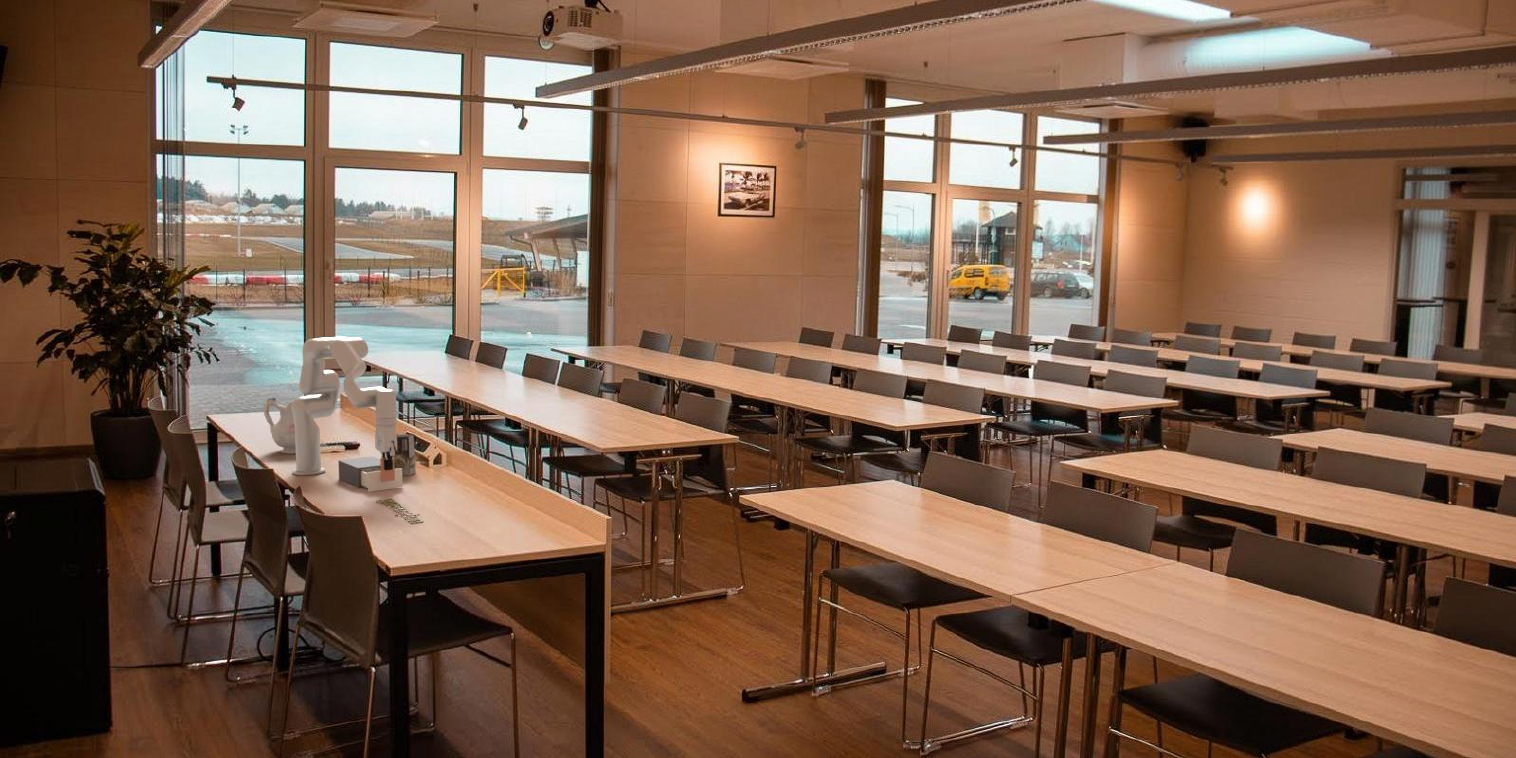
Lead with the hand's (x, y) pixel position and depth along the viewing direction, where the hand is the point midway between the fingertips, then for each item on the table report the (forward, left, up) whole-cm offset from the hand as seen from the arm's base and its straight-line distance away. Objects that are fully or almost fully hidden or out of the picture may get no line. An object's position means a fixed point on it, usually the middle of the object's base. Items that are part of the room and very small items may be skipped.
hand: (387, 469), depth 459 cm
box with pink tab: (-10, 0, -8) cm, 13 cm away
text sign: (+33, -10, -9) cm, 36 cm away
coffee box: (-27, +18, -9) cm, 33 cm away
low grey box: (-21, 0, -9) cm, 23 cm away
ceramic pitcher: (-101, 0, -9) cm, 101 cm away
